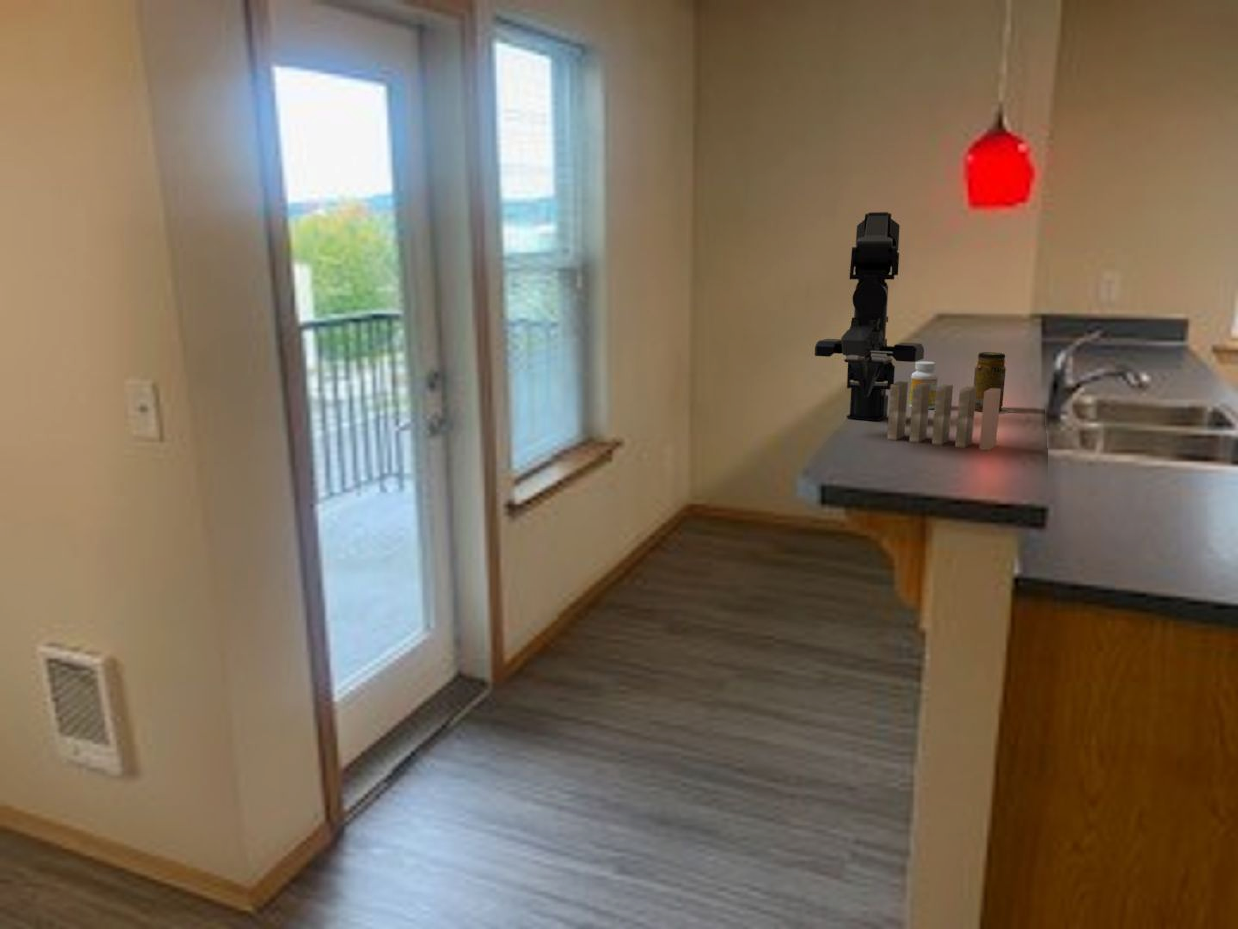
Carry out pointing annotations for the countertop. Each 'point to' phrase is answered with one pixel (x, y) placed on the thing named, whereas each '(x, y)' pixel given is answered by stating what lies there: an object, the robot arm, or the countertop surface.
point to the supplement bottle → (925, 380)
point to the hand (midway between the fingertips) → (865, 396)
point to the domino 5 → (989, 418)
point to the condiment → (989, 378)
